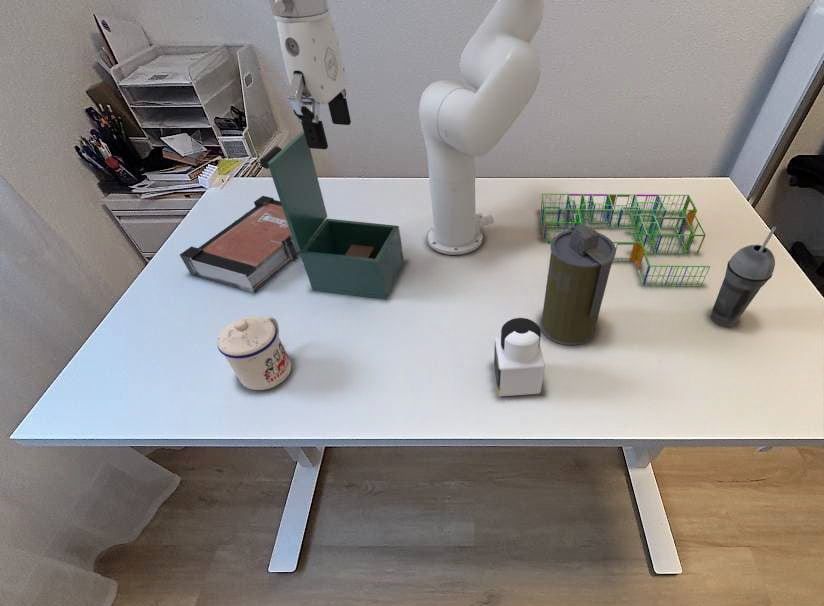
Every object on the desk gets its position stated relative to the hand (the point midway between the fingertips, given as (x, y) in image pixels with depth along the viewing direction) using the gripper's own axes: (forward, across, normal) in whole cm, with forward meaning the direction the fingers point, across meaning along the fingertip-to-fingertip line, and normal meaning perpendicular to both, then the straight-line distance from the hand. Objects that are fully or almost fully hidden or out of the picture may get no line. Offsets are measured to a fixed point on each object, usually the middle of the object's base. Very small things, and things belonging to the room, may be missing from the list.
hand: (330, 135), depth 75 cm
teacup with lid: (+28, -28, +7) cm, 40 cm away
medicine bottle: (+28, -23, -36) cm, 51 cm away
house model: (+28, +22, -53) cm, 64 cm away
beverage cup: (+28, 0, -72) cm, 78 cm away
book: (+28, +5, +26) cm, 39 cm away
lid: (+11, 0, +8) cm, 14 cm away
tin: (+28, 0, +1) cm, 28 cm away
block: (+27, 0, 0) cm, 27 cm away
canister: (+28, -8, -44) cm, 53 cm away
